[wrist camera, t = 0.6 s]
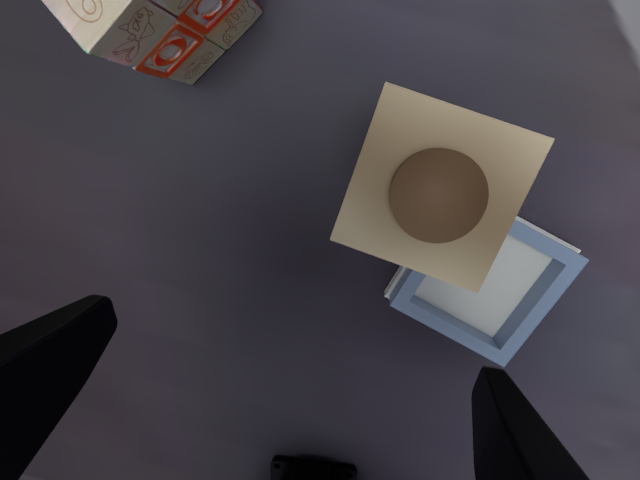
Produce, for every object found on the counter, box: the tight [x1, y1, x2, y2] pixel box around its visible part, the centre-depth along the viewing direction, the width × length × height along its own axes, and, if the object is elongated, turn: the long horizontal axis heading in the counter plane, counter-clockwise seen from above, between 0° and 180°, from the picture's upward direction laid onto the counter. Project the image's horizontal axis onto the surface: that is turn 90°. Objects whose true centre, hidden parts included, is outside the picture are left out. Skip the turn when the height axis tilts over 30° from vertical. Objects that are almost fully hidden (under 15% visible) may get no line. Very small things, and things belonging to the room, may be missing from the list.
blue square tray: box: [384, 216, 589, 367], centre depth 23 cm, size 8×8×2 cm
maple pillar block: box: [330, 82, 555, 293], centre depth 16 cm, size 4×4×14 cm
